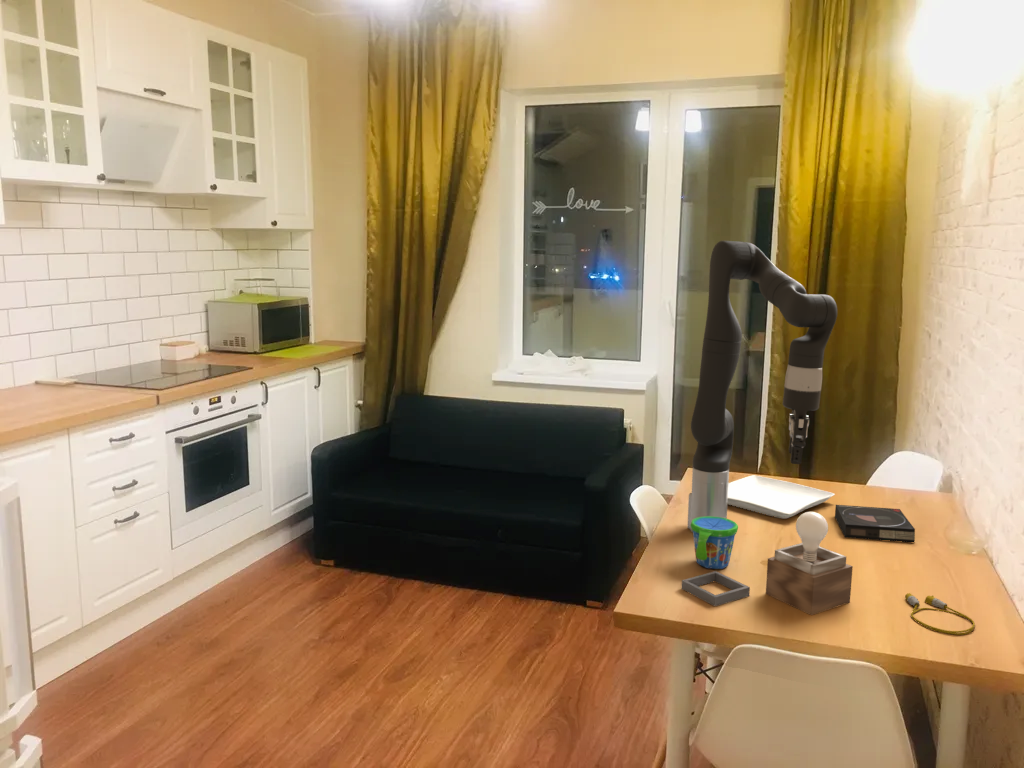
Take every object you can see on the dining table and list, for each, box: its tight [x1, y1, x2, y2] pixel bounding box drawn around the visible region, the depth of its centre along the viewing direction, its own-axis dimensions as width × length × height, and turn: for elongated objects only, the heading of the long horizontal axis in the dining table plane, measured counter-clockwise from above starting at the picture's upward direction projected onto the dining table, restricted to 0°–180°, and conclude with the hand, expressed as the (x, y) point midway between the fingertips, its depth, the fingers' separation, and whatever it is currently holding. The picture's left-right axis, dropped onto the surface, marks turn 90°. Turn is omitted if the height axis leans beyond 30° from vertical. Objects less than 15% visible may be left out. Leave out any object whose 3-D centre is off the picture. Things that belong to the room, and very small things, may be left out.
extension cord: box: [904, 592, 975, 636], centre depth 164 cm, size 12×16×2 cm
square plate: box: [727, 474, 836, 520], centre depth 237 cm, size 27×27×4 cm
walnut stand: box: [765, 542, 853, 616], centre depth 172 cm, size 12×12×10 cm
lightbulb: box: [795, 511, 829, 563], centre depth 170 cm, size 6×6×11 cm
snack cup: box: [691, 516, 739, 570], centre depth 190 cm, size 16×10×10 cm
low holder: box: [680, 570, 751, 607], centre depth 175 cm, size 10×10×2 cm
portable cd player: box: [834, 504, 916, 543], centre depth 214 cm, size 16×17×4 cm
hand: (794, 458), depth 178 cm, fingers open, 8 cm apart
